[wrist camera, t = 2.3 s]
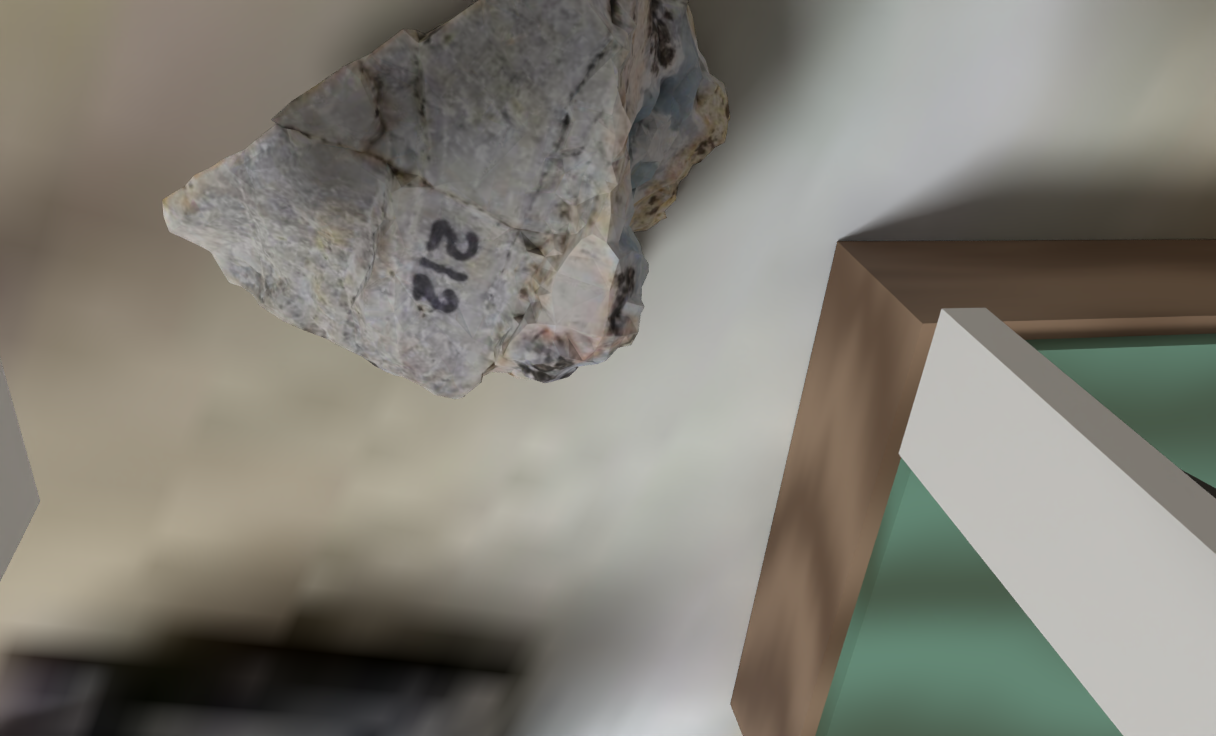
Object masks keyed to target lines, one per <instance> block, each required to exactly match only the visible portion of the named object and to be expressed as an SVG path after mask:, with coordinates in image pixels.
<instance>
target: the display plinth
mask: <svg viewBox="0 0 1216 736" xmlns="http://www.w3.org/2000/svg"><path fill="white" fill-rule="evenodd" d="M942 308H987V309H988V310H989V311H990V312H991V313H993V314H994V315H995V316H996V317H997V318H999V319H1000V320H1001V321H1002V322H1003V323H1005V324H1006V325H1007V326H1008V327H1009V328H1011V329H1012V330H1013V331H1014V332H1015V333H1017V334H1018V335H1019V336H1020V337H1022V338H1023V339H1024V340H1025V341H1026V342H1028V343H1029V344H1030V345H1031V346H1032V347H1034V348H1035V349H1036V350H1037V351H1038V352H1040V353H1041V354H1042V355H1043V356H1044V357H1046V358H1047V359H1048V360H1049V361H1050V362H1052V363H1053V364H1054V365H1055V366H1056V367H1058V368H1059V369H1060V370H1061V371H1062V372H1064V373H1065V374H1066V375H1067V376H1069V377H1070V378H1071V379H1072V380H1073V381H1075V382H1076V383H1077V384H1078V385H1079V386H1081V387H1082V388H1083V389H1084V390H1085V391H1087V392H1088V393H1089V394H1090V395H1091V396H1093V397H1094V398H1095V399H1096V400H1097V401H1099V402H1100V403H1101V404H1102V405H1103V406H1105V407H1106V408H1107V409H1108V410H1109V411H1111V412H1112V413H1113V414H1114V415H1115V416H1117V417H1118V418H1119V419H1120V420H1122V421H1123V422H1124V423H1125V424H1126V425H1128V426H1129V427H1130V428H1131V429H1132V430H1134V431H1135V432H1136V433H1137V434H1138V435H1140V436H1141V437H1142V438H1143V439H1144V440H1146V441H1147V442H1148V443H1149V444H1150V445H1152V446H1153V447H1154V448H1155V449H1156V450H1158V451H1159V452H1160V453H1161V454H1162V455H1164V456H1165V457H1166V458H1167V459H1169V460H1170V461H1171V462H1172V463H1173V464H1175V465H1176V466H1177V467H1178V468H1179V469H1181V470H1183V471H1185V472H1187V473H1189V474H1190V475H1192V476H1194V477H1196V478H1198V479H1200V480H1201V481H1203V482H1205V483H1207V484H1209V485H1211V486H1212V487H1214V488H1216V240H1022V241H837V245H836V250H835V254H834V258H833V263H832V267H831V271H830V276H829V280H828V284H827V289H826V293H825V297H824V302H823V306H822V310H821V315H820V319H819V323H818V328H817V332H816V336H815V341H814V345H813V349H812V353H811V358H810V362H809V366H808V371H807V375H806V379H805V384H804V388H803V392H802V397H801V401H800V405H799V410H798V414H797V418H796V423H795V427H794V431H793V436H792V440H791V444H790V449H789V453H788V457H787V461H786V466H785V470H784V474H783V479H782V483H781V487H780V492H779V496H778V500H777V505H776V509H775V513H774V518H773V522H772V526H771V531H770V535H769V539H768V544H767V548H766V552H765V557H764V561H763V565H762V570H761V574H760V578H759V582H758V587H757V591H756V595H755V600H754V604H753V608H752V613H751V617H750V621H749V626H748V630H747V634H746V639H745V643H744V647H743V652H742V656H741V660H740V665H739V669H738V673H737V678H736V682H735V686H734V690H733V695H732V699H731V703H730V704H731V707H732V709H733V712H734V714H735V717H736V720H737V722H738V725H739V727H740V730H741V732H742V735H743V736H1123V735H1122V733H1121V732H1120V731H1119V730H1118V728H1117V727H1116V726H1115V725H1114V723H1113V722H1112V721H1111V720H1110V718H1109V717H1108V716H1107V715H1106V713H1105V712H1104V711H1103V710H1102V708H1101V707H1100V706H1099V705H1098V703H1097V702H1096V701H1095V700H1094V698H1093V697H1092V696H1091V695H1090V693H1089V692H1088V691H1087V690H1086V688H1085V687H1084V686H1083V685H1082V683H1081V682H1080V681H1079V680H1078V678H1077V677H1076V676H1075V675H1074V673H1073V672H1072V671H1071V669H1070V668H1069V667H1068V666H1067V664H1066V663H1065V662H1064V661H1063V659H1062V658H1061V657H1060V656H1059V654H1058V653H1057V652H1056V651H1055V649H1054V648H1053V647H1052V646H1051V644H1050V643H1049V642H1048V641H1047V639H1046V638H1045V637H1044V636H1043V634H1042V633H1041V632H1040V631H1039V629H1038V628H1037V627H1036V626H1035V624H1034V623H1033V622H1032V621H1031V619H1030V618H1029V617H1028V616H1027V614H1026V613H1025V612H1024V611H1023V609H1022V608H1021V607H1020V606H1019V604H1018V603H1017V602H1016V601H1015V599H1014V598H1013V597H1012V595H1011V594H1010V593H1009V592H1008V590H1007V589H1006V588H1005V587H1004V585H1003V584H1002V583H1001V582H1000V580H999V579H998V578H997V577H996V575H995V574H994V573H993V572H992V570H991V569H990V568H989V567H988V565H987V564H986V563H985V562H984V560H983V559H982V558H981V557H980V555H979V554H978V553H977V552H976V550H975V549H974V548H973V547H972V545H971V544H970V543H969V542H968V540H967V539H966V538H965V537H964V535H963V534H962V533H961V532H960V530H959V529H958V528H957V526H956V525H955V524H954V523H953V521H952V520H951V519H950V518H949V516H948V515H947V514H946V513H945V511H944V510H943V509H942V508H941V506H940V505H939V504H938V503H937V501H936V500H935V499H934V498H933V496H932V495H931V494H930V493H929V491H928V490H927V489H926V488H925V486H924V485H923V484H922V483H921V481H920V480H919V479H918V478H917V476H916V475H915V474H914V473H913V471H912V470H911V469H910V468H909V466H908V465H907V464H906V463H905V461H904V460H903V459H902V458H901V456H900V455H899V451H900V447H901V444H902V440H903V437H904V434H905V430H906V427H907V424H908V420H909V417H910V413H911V410H912V407H913V403H914V400H915V397H916V393H917V390H918V386H919V383H920V380H921V376H922V373H923V370H924V366H925V363H926V360H927V356H928V353H929V349H930V346H931V343H932V339H933V336H934V333H935V329H936V326H937V322H938V319H939V316H940V312H941V309H942Z"/></svg>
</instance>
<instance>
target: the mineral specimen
mask: <svg viewBox="0 0 1216 736" xmlns="http://www.w3.org/2000/svg"><path fill="white" fill-rule="evenodd" d="M688 1H689V0H478V1H477V2H475V3H474V4H473V5H471V6H470V7H468V8H467V9H465V10H464V11H463V12H461V13H460V14H458V15H457V16H455V17H454V18H453V19H451V20H449V21H448V22H446V23H444V24H442V25H441V26H439V27H437V28H436V29H434V30H432V31H430V32H429V33H427V34H424V33H422V32H419V31H417V30H410V29H402V30H401V31H399V32H398V33H397V34H395V35H394V36H393V37H392V38H390V39H389V40H388V41H386V42H385V43H384V44H382V45H381V46H380V47H378V48H377V49H376V50H374V51H373V52H372V53H370V54H369V55H367V56H364V57H362V58H360V59H358V60H356V61H354V62H352V63H349V64H347V65H345V66H344V67H342V68H341V69H339V70H338V71H336V72H335V73H334V74H332V75H331V76H329V77H328V78H326V79H325V80H323V81H322V82H320V83H319V84H317V85H316V86H314V87H313V88H311V89H310V90H308V91H307V92H305V93H304V94H302V95H300V96H299V97H297V98H296V99H294V100H293V101H291V102H290V103H289V104H288V105H287V106H286V107H285V108H283V109H282V110H281V111H280V112H279V113H278V114H277V115H276V116H274V117H273V118H272V119H271V120H272V121H274V122H275V123H276V124H275V125H274V126H273V127H272V128H270V129H269V130H268V131H267V132H265V133H264V134H263V135H261V136H260V137H259V138H258V139H256V140H255V141H254V142H253V143H252V144H250V145H249V146H248V147H247V148H246V149H244V150H242V151H240V152H238V153H235V154H233V155H231V156H229V157H227V158H225V159H222V160H221V161H219V162H218V163H217V164H216V165H214V166H213V167H210V168H208V169H206V170H204V171H202V172H200V173H198V174H196V175H194V176H193V177H192V179H191V180H190V181H189V182H188V183H187V184H186V185H185V186H184V187H182V188H181V189H179V190H177V191H176V192H174V193H173V194H171V195H169V196H168V197H166V198H165V199H163V200H162V202H163V214H164V219H165V221H166V224H167V227H168V229H169V232H171V233H173V234H175V235H177V236H180V237H182V238H184V239H186V240H188V241H191V242H193V243H195V244H197V245H199V246H201V247H203V248H205V249H207V250H209V251H210V252H211V253H212V255H213V256H214V258H215V260H216V261H217V263H218V265H219V267H220V268H221V270H222V272H223V273H224V275H225V277H226V278H227V280H228V282H229V283H232V284H235V285H238V286H241V287H243V288H244V289H246V290H247V291H248V292H250V293H251V294H252V295H253V296H254V298H255V299H256V301H257V303H258V305H259V306H261V307H262V308H264V309H266V310H267V311H269V312H270V313H272V314H273V315H275V316H276V317H278V318H279V319H281V320H282V321H284V322H286V323H289V324H291V325H293V326H296V327H298V328H300V329H303V330H305V331H308V332H310V333H313V334H316V335H318V336H321V337H323V338H326V339H329V340H330V341H332V342H333V343H335V344H336V345H338V346H341V347H343V348H345V349H347V350H349V351H351V352H353V353H356V354H358V355H360V356H362V357H364V358H365V359H366V360H368V361H369V362H370V363H372V364H373V365H374V366H376V367H378V368H380V369H382V370H384V371H386V372H388V373H391V374H393V375H396V376H402V377H404V378H406V379H408V380H410V381H412V382H414V383H416V384H418V385H420V386H422V387H423V388H425V389H426V390H428V391H430V392H431V393H433V394H434V395H438V396H443V397H448V398H452V399H458V398H462V397H464V396H465V395H466V394H467V393H468V392H470V391H471V390H472V389H474V388H475V387H476V386H477V385H479V384H480V383H481V381H482V377H483V376H485V375H486V374H488V373H490V372H502V373H508V374H510V375H512V376H514V377H515V378H519V379H530V380H532V379H534V380H537V381H540V382H543V383H548V382H552V381H555V380H559V379H563V378H566V377H569V376H570V375H571V374H572V373H573V372H574V371H575V370H576V369H577V368H578V366H584V365H592V364H598V363H601V362H603V361H606V360H607V359H608V358H609V357H610V356H611V355H612V354H613V352H614V351H615V350H616V349H617V348H619V347H624V346H629V345H631V344H632V342H633V341H634V339H635V337H636V335H637V333H638V331H639V323H640V315H641V312H642V310H643V309H644V305H643V303H642V300H641V296H642V285H643V283H644V281H645V279H646V276H647V274H648V272H649V264H648V262H647V260H646V259H645V257H644V256H643V254H642V250H641V245H640V243H639V241H638V240H637V238H636V236H635V234H634V233H633V232H636V231H646V230H648V229H649V228H651V227H652V226H654V225H655V224H656V223H658V222H659V221H660V220H662V219H664V218H667V217H666V214H665V210H666V209H667V208H668V207H669V206H670V205H671V204H672V203H673V202H674V201H675V200H676V193H677V189H678V185H679V182H680V181H681V180H682V179H683V178H684V177H686V176H687V175H688V173H689V171H690V169H691V166H692V165H693V164H696V163H699V162H701V161H702V160H703V159H704V158H705V157H706V156H707V155H708V154H709V153H710V152H711V151H712V150H713V149H714V148H715V147H717V146H719V145H720V144H722V143H724V142H725V139H726V134H727V127H728V121H729V119H730V114H729V113H730V112H729V105H728V98H727V93H726V89H725V86H724V83H723V82H721V81H720V80H718V79H717V78H715V77H714V76H713V75H711V74H710V72H709V69H708V66H707V62H706V60H705V58H704V57H703V56H702V54H701V53H700V51H699V50H698V44H697V39H696V33H695V27H694V21H693V16H692V13H691V11H690V8H689V6H688Z"/></svg>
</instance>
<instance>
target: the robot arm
mask: <svg viewBox="0 0 1216 736" xmlns="http://www.w3.org/2000/svg"><path fill="white" fill-rule="evenodd" d="M899 455H900V456H901V458H902V459H903V460H904V461H905V463H906V464H907V465H908V466H909V468H910V469H911V470H912V471H913V473H914V474H915V475H916V476H917V478H918V479H919V480H920V481H921V483H922V484H923V485H924V486H925V488H926V489H927V490H928V491H929V493H930V494H931V495H932V496H933V498H934V499H935V500H936V501H937V503H938V504H939V505H940V506H941V508H942V509H943V510H944V511H945V513H946V514H947V515H948V516H949V518H950V519H951V520H952V521H953V523H954V524H955V525H956V526H957V528H958V529H959V530H960V532H961V533H962V534H963V535H964V537H965V538H966V539H967V540H968V542H969V543H970V544H971V545H972V547H973V548H974V549H975V550H976V552H977V553H978V554H979V555H980V557H981V558H982V559H983V560H984V562H985V563H986V564H987V565H988V567H989V568H990V569H991V570H992V572H993V573H994V574H995V575H996V577H997V578H998V579H999V580H1000V582H1001V583H1002V584H1003V585H1004V587H1005V588H1006V589H1007V590H1008V592H1009V593H1010V594H1011V595H1012V597H1013V598H1014V599H1015V601H1016V602H1017V603H1018V604H1019V606H1020V607H1021V608H1022V609H1023V611H1024V612H1025V613H1026V614H1027V616H1028V617H1029V618H1030V619H1031V621H1032V622H1033V623H1034V624H1035V626H1036V627H1037V628H1038V629H1039V631H1040V632H1041V633H1042V634H1043V636H1044V637H1045V638H1046V639H1047V641H1048V642H1049V643H1050V644H1051V646H1052V647H1053V648H1054V649H1055V651H1056V652H1057V653H1058V654H1059V656H1060V657H1061V658H1062V659H1063V661H1064V662H1065V663H1066V664H1067V666H1068V667H1069V668H1070V669H1071V671H1072V672H1073V673H1074V675H1075V676H1076V677H1077V678H1078V680H1079V681H1080V682H1081V683H1082V685H1083V686H1084V687H1085V688H1086V690H1087V691H1088V692H1089V693H1090V695H1091V696H1092V697H1093V698H1094V700H1095V701H1096V702H1097V703H1098V705H1099V706H1100V707H1101V708H1102V710H1103V711H1104V712H1105V713H1106V715H1107V716H1108V717H1109V718H1110V720H1111V721H1112V722H1113V723H1114V725H1115V726H1116V727H1117V728H1118V730H1119V731H1120V732H1121V733H1122V735H1123V736H1216V488H1214V487H1212V486H1211V485H1209V484H1207V483H1205V482H1203V481H1201V480H1200V479H1198V478H1196V477H1194V476H1192V475H1190V474H1189V473H1187V472H1185V471H1183V470H1181V469H1179V468H1178V467H1177V466H1176V465H1175V464H1173V463H1172V462H1171V461H1170V460H1169V459H1167V458H1166V457H1165V456H1164V455H1162V454H1161V453H1160V452H1159V451H1158V450H1156V449H1155V448H1154V447H1153V446H1152V445H1150V444H1149V443H1148V442H1147V441H1146V440H1144V439H1143V438H1142V437H1141V436H1140V435H1138V434H1137V433H1136V432H1135V431H1134V430H1132V429H1131V428H1130V427H1129V426H1128V425H1126V424H1125V423H1124V422H1123V421H1122V420H1120V419H1119V418H1118V417H1117V416H1115V415H1114V414H1113V413H1112V412H1111V411H1109V410H1108V409H1107V408H1106V407H1105V406H1103V405H1102V404H1101V403H1100V402H1099V401H1097V400H1096V399H1095V398H1094V397H1093V396H1091V395H1090V394H1089V393H1088V392H1087V391H1085V390H1084V389H1083V388H1082V387H1081V386H1079V385H1078V384H1077V383H1076V382H1075V381H1073V380H1072V379H1071V378H1070V377H1069V376H1067V375H1066V374H1065V373H1064V372H1062V371H1061V370H1060V369H1059V368H1058V367H1056V366H1055V365H1054V364H1053V363H1052V362H1050V361H1049V360H1048V359H1047V358H1046V357H1044V356H1043V355H1042V354H1041V353H1040V352H1038V351H1037V350H1036V349H1035V348H1034V347H1032V346H1031V345H1030V344H1029V343H1028V342H1026V341H1025V340H1024V339H1023V338H1022V337H1020V336H1019V335H1018V334H1017V333H1015V332H1014V331H1013V330H1012V329H1011V328H1009V327H1008V326H1007V325H1006V324H1005V323H1003V322H1002V321H1001V320H1000V319H999V318H997V317H996V316H995V315H994V314H993V313H991V312H990V311H989V310H988V309H987V308H942V309H941V312H940V316H939V319H938V322H937V326H936V329H935V333H934V336H933V339H932V343H931V346H930V349H929V353H928V356H927V360H926V363H925V366H924V370H923V373H922V376H921V380H920V383H919V386H918V390H917V393H916V397H915V400H914V403H913V407H912V410H911V413H910V417H909V420H908V424H907V427H906V430H905V434H904V437H903V440H902V444H901V447H900V451H899ZM39 502H40V499H39V495H38V491H37V488H36V484H35V481H34V477H33V474H32V470H31V466H30V463H29V459H28V456H27V452H26V448H25V445H24V441H23V438H22V434H21V431H20V427H19V423H18V420H17V416H16V413H15V409H14V406H13V402H12V398H11V395H10V391H9V388H8V384H7V381H6V377H5V373H4V370H3V366H2V363H1V359H0V581H1V579H2V577H3V575H4V573H5V571H6V569H7V567H8V565H9V563H10V561H11V559H12V557H13V555H14V553H15V551H16V549H17V547H18V545H19V543H20V541H21V539H22V537H23V535H24V533H25V531H26V529H27V527H28V525H29V523H30V521H31V519H32V517H33V514H34V512H35V510H36V508H37V506H38V504H39Z"/></svg>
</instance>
